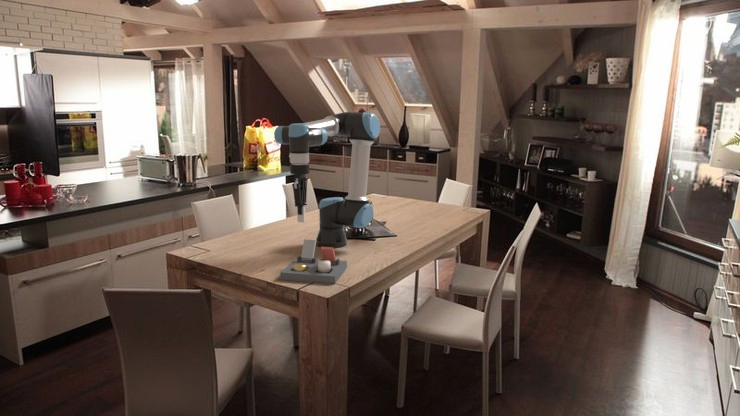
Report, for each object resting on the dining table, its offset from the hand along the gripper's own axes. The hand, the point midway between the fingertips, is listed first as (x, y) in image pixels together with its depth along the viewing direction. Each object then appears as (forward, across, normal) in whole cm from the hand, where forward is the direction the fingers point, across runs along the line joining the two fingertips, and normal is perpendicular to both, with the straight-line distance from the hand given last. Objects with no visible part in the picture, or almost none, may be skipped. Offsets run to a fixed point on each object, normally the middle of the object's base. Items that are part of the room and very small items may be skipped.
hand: (301, 221), depth 202 cm
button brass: (+20, +5, +1) cm, 21 cm away
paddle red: (+17, -3, +11) cm, 21 cm away
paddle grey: (+17, -4, +1) cm, 18 cm away
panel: (+21, +2, +6) cm, 22 cm away
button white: (+18, +6, +11) cm, 22 cm away
